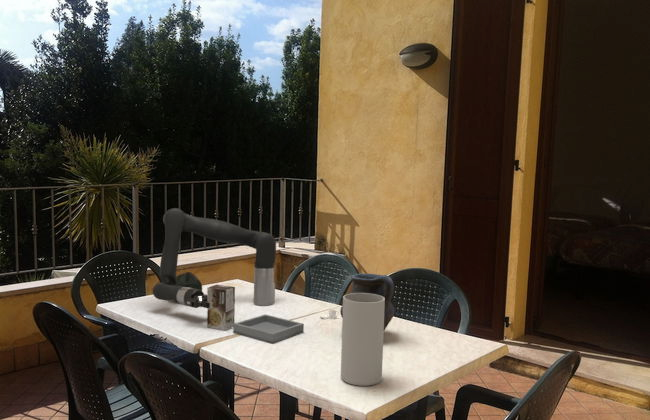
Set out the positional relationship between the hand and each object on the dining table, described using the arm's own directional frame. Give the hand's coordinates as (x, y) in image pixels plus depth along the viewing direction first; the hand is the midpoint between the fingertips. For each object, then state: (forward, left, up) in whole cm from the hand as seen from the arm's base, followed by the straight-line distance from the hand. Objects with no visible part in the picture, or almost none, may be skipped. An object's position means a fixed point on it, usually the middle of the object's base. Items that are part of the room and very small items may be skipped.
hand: (217, 303), depth 211 cm
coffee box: (0, +2, -9) cm, 10 cm away
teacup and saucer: (-41, +25, -10) cm, 49 cm away
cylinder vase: (+9, +73, -9) cm, 74 cm away
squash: (-18, -41, -9) cm, 46 cm away
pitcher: (-28, +53, -9) cm, 61 cm away
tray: (-7, +21, -9) cm, 24 cm away
